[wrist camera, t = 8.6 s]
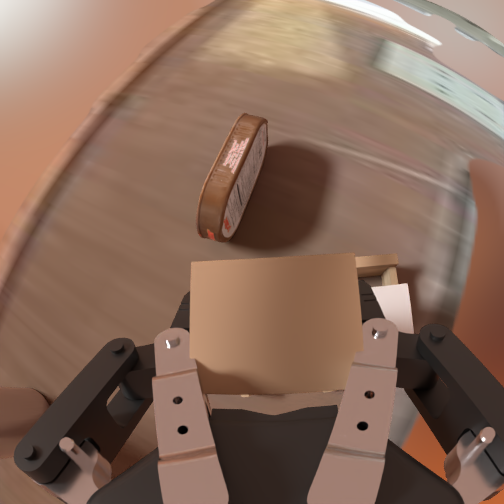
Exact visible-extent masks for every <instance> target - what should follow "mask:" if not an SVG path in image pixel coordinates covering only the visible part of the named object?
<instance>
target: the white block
mask: <svg viewBox="0 0 504 504" xmlns="http://www.w3.org/2000/svg"><path fill="white" fill-rule="evenodd" d="M371 288H372V290H373V292H374V295H375V296H376V299H377V301H378V303H379V305H380V307H381V309H382V312H383V314H384V316H385V318H386V319H387V320H389V321H391V322H393V323H394V324H395V325H396V326H397V328H398V331H400V332H403V333H410V334H414V330H413V321H412V312H411V304H410V297H409V290H408V284H407V283H406V284H397V285H389V286H380V287H371Z"/></svg>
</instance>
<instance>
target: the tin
mask: <svg viewBox="0 0 504 504" xmlns="http://www.w3.org/2000/svg"><path fill="white" fill-rule="evenodd" d="M267 123H268V121H267V120H266V119H265V118H262V117H258V116H253V115H249V114H247V113H243V114H241V115H240V116H239V117H238V118H237V120H236V121H235V123H234V125H233V127H232V129H231V130H230V132H229V134H228V136H227V138H226V140H225V142H224V144H223V146H222V148H221V150H220V152H219V154H218V156H217V158H216V160H215V162H214V164H213V166H212V168H211V170H210V172H209V174H208V176H207V178H206V180H205V182H204V185H203V188H202V191H201V194H200V197H199V202H198V207H197V214H196V226H197V231H198V234H199V236H200V237H202V238H208V239H211V240H214V241H218V242H227V241H229V240H230V239H231V238H232V236H233V235H234V233H235V232H236V230H237V228H238V226H239V223H240V221H241V219H242V216H243V214H244V211H245V209H246V206H247V204H248V202H249V199H250V197H251V194H252V192H253V189H254V187H255V184H256V182H257V179H258V177H259V174H260V172H261V169H262V166H263V163H264V159H265V156H266V151H267V146H268V135H267V130H268V129H267Z"/></svg>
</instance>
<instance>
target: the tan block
mask: <svg viewBox="0 0 504 504" xmlns="http://www.w3.org/2000/svg"><path fill="white" fill-rule="evenodd" d="M359 351H364V346H363V331H362V318H361V306H360V295H359V286H358V277H357V268H356V260H355V253H341V254H324V255H307V256H290V257H273V258H255V259H237V260H219V261H201V262H191V287H190V349H189V353H190V358H191V359H195V360H196V364H197V368H198V372H199V375H200V379H201V383H202V386H203V390H204V393H205V394H230V395H262V394H292V393H309V392H323V391H334V390H344V389H345V387H346V384H347V380H348V376H349V373H350V369H351V365H352V362H354V358H355V354H356V352H359Z"/></svg>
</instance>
